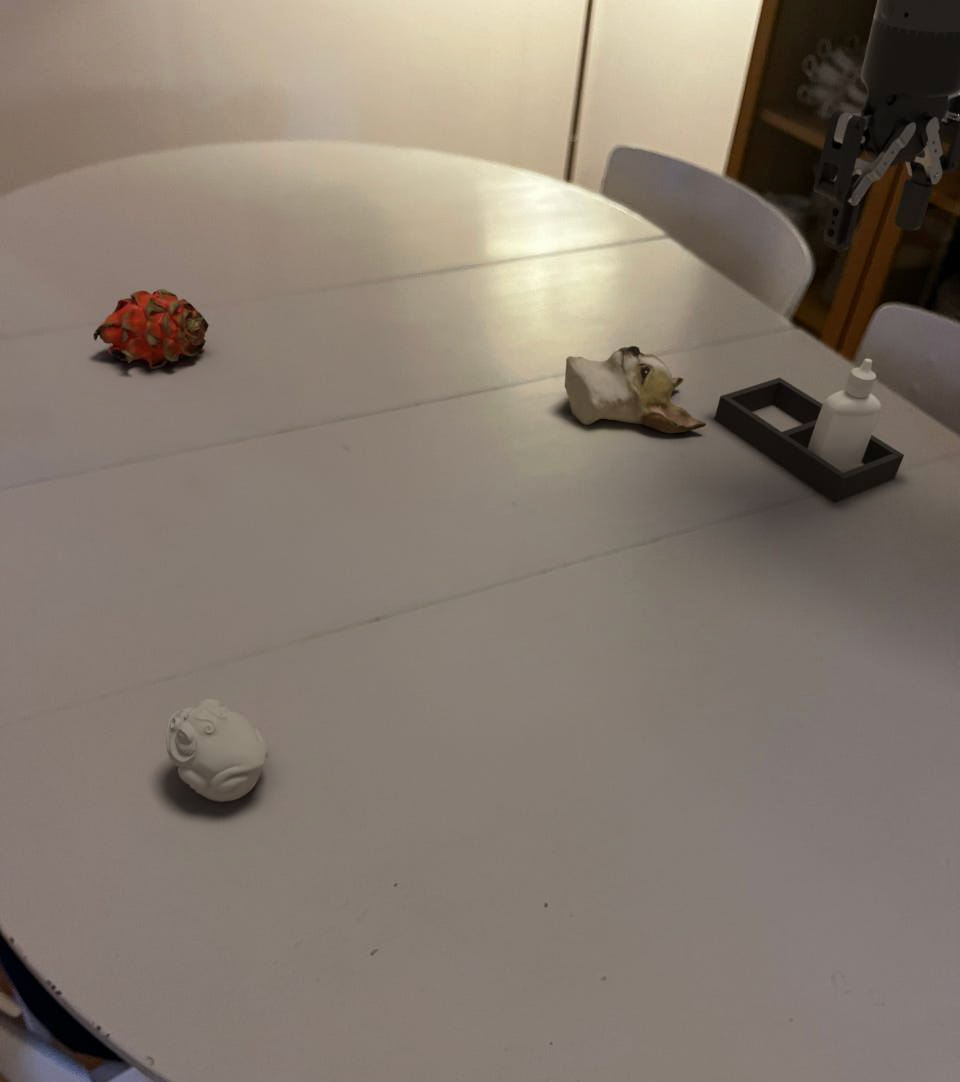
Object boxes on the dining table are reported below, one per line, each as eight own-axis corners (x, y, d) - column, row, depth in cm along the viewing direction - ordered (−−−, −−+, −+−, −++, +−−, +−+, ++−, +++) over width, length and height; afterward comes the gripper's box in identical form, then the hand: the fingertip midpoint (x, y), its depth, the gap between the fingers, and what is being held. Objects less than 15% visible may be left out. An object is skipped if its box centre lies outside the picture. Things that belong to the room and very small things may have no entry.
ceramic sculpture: (560, 318, 111) (695, 328, 114) (545, 391, 117) (674, 399, 119) (580, 369, 103) (724, 378, 106) (563, 444, 109) (700, 451, 112)
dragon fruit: (222, 376, 117) (113, 394, 116) (210, 306, 118) (101, 323, 117) (208, 341, 109) (90, 360, 107) (194, 266, 110) (78, 284, 109)
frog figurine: (205, 740, 76) (195, 671, 72) (290, 773, 75) (285, 705, 70) (155, 799, 72) (140, 731, 67) (244, 836, 70) (235, 768, 66)
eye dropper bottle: (857, 483, 107) (898, 376, 99) (801, 471, 108) (837, 364, 100) (858, 461, 110) (898, 356, 102) (804, 449, 111) (839, 344, 103)
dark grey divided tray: (771, 405, 119) (779, 377, 116) (892, 484, 109) (904, 454, 106) (712, 425, 115) (720, 395, 112) (832, 509, 104) (844, 478, 102)
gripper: (902, 37, 72) (846, 271, 83) (1033, 14, 78) (965, 235, 88) (820, 16, 77) (777, 240, 87) (950, -4, 82) (894, 208, 93)
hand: (872, 237), depth 88 cm, fingers open, 8 cm apart
